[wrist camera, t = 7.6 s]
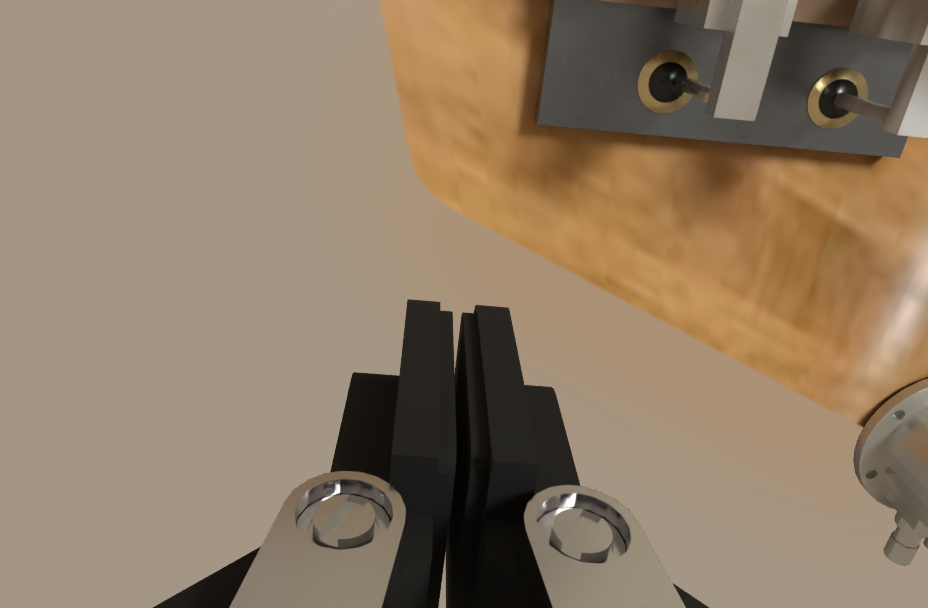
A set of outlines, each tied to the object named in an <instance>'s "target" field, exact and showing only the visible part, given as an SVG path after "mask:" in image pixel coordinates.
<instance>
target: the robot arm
mask: <svg viewBox="0 0 928 608" xmlns="http://www.w3.org/2000/svg"><path fill="white" fill-rule="evenodd" d="M453 347H454V345H453V314H452V312H450V311H440V302H433V301H432V302H431V301H421V300H408V301H407V310H406V320H405V329H404V339H403V348H402V358H401V367H400V376H396V375H383V374H368V373H356V372H354V373H353V374H352V378H351V382H350V387H349V391H348V396H347V400H346V405H345V409H344V413H343V418H342V422H341V427H340V432H339V436H338V440H337V445H336V449H335V454H334V458H333V463H332V467H331V472H330V473H324V474H322V475H319V476H316V477H314V478H311V479H308V480H307V481H305V482H304V483H303V484H301V485H300V486H298V487H297V488H295V489H294V490H293V491H292V492H291V494H290V495H289V496H288V498H287V499H286V500H285V502H284V503H283V505H282V507H281V509H280V511H279V513H278V515H277V517H276V519H275V521H274V523H273V524H272V526H271V528H270V531H269V532H268V534H267V536H266V538H265V540H264V542H263V544H262V546H261V547H259V548H258V549H256V550H254V551H252V552H251V553H249V554H247V555H245V556H243V557H242V558H240V559H238V560H236V561H235V562H233V563H231V564H229V565H227V566H226V567H224V568H222V569H220V570H219V571H217V572H215V573H213V574H212V575H210V576H208V577H206V578H204V579H203V580H201V581H199V582H197V583H196V584H194V585H192V586H190V587H189V588H187V589H185V590H183V591H181V592H180V593H178V594H176V595H174V596H173V597H171V598H169V599H167V600H165V601H164V602H162V603H160V604H158V605H157V606H155V607H153V608H438V606H439V598H440V590H441V582H442V574H443V566H444V558H445V551H446V608H709V607H707V606H706V605H704V604H703V603H701V602H700V601H698V600H697V599H695V598H694V597H692V596H691V595H689V594H688V593H686V592H685V591H683V590H682V589H680V588H679V587H678V586H676V585H675V584H673V583H672V582H671V580H670V578H669V576H668V574H667V572H666V571H665V569H664V567H663V565H662V563H661V562H660V560H659V558H658V556H657V554H656V552H655V551H654V549H653V547H652V545H651V543H650V542H649V540H648V538H647V536H646V534H645V532H644V531H643V529H642V527H641V525H640V523H639V522H638V521H637V519H636V518H635V517H634V515H633V514H632V513H631V511H630V510H629V509H627V508H626V507H625V506H624V505H623V504H621V503H620V502H619V501H618V500H616V499H615V498H613V497H611V496H609V495H607V494H605V493H603V492H601V491H598V490H595V489H591V488H587V487H583V486H580V483H579V479H578V475H577V472H576V468H575V464H574V461H573V457H572V453H571V449H570V446H569V442H568V438H567V434H566V431H565V427H564V423H563V419H562V416H561V412H560V408H559V405H558V401H557V397H556V394H555V391H554V389H553V388H552V387H544V386H530V385H524V381H523V376H522V371H521V366H520V361H519V356H518V351H517V346H516V341H515V336H514V331H513V326H512V321H511V316H510V311H509V308H504V307H494V306H482V305H476V306H475V310H474V313H462V317H461V324H460V334H459V341H458V350H457V358H456V367H455V375H454V348H453ZM854 468H855V473H856V475H857V477H858V479H859V481H860V483H861V484H862V486H863V487H864V488H865V489H866V491H867V492H868V493H869V494H870V495H871V496H872V497H873V498H874V499H876V500H877V501H878V502H880V503H881V504H883V505H886V506H887V507H890V508H893V509H896V510H897V514H896V516H895V522H896V524H897V525H898V526H897V528H896V530H895V531H894V532H893V533H892V534H891V536H890V538H889V540H888V542H887V544H886V546H885V548H884V554H885V555H886V557H887V558H888V559H890V560H891V561H892V562H894V563H896V564H899V565H904V566H907V565H909V564H910V563H911V561H912V559H913V557H914V556H915V554H916V552H917V550H918V548H919V543H920V541H921V539H922V538H925V540H924V542H923V543H924V545H925V547H927V548H928V379H925V380H922V381H919V382H917V383H915V384H913V385H911V386H909V387H907V388H905V389H903V390H902V391H900V392H899V393H897V394H896V395H895V396H893V397H892V398H890V399H889V400H888V401H886V402H885V403H884V404H883V405H882V406H881V407H880V408H879V409H878V410H877V411H876V412H875V413H874V414H873V416H872V417H871V418H870V419H869V421H868V422H867V423H866V424H865V426H864V428H863V430H862V432H861V434H860V435H859V438H858V440H857V444H856V447H855V451H854Z"/></svg>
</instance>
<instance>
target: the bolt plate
mask: <svg viewBox="0 0 928 608" xmlns="http://www.w3.org/2000/svg"><path fill="white" fill-rule="evenodd" d="M676 10H677V9H672V8H663V7H653V6H644V5H634V4H625V3H615V2H606V1H596V0H551V6H550V14H549V21H548V28H547V35H546V42H545V49H544V57H543V64H542V71H541V78H540V85H539V92H538V100H537V107H536V114H535V122H536V124H537V125H546V126H557V127H568V128H579V129H590V130H600V131H611V132H622V133H633V134H644V135H655V136H666V137H677V138H688V139H699V140H710V141H721V142H731V143H742V144H753V145H764V146H775V147H786V148H797V149H808V150H819V151H830V152H841V153H852V154H862V155H873V156H884V157H895V158H900V156H901V153H902V151H903V148H904V146H905V143H906V140H907V138H908V136H902V135H896V134H893V133H890V132H888V131H885V130H883V127H884V124H885V123H882V122H879V121H876V120H873V119H871V118H868V117H865V116H862V115H859V114H856V113H853V112H850V111H848V110H845V109H842V108H839V107H836V106H835V105H834V98H835V96H836V95H837V94H839V93H846V94H849V95H853V96H856V97H859V98H862V99H866V100H869V101H872V102H875V103H879V104H882V105H885V106H888V107H891V105H892V102H893V100H894V97H895V94H896V91H897V89H898V86H899V83H900V80H901V78H902V75H903V72H904V69H905V67H906V64H907V61H908V59H909V56H910V53H911V50H912V48H913V45H914V44H913V43H906V42H900V41H894V40H887V39H881V38H875V37H868V36H862V35H856V34H849V33H848V32H849V29H850V27H843V26H834V25H824V24H815V23H805V22H796V21H792V23H791V27H790V30H789V34H788V37H782V36H779V37H778V40H777V44H776V47H775V51H774V54H773V58H772V62H771V65H770V69H769V72H768V76H767V79H766V83H765V86H764V90H763V94H762V97H761V101H760V104H759V108H758V111H757V115H756V118H755V121H747V120H736V119H725V118H715V117H712V116H710V115H708V114H706V113H704V112H705V108H706V104H707V103H705V102H703V101H701V100H699V99H697V98H695V97H693V96H691V95H689V94H687V93H685V92H683V91H682V90H681V83H682V81H683V80H684V79H686V78H692V79H694V80H696V81H699V82H701V83H703V84H706V85H708V86H710V87H711V84H712V80H713V76H714V72H715V68H716V64H717V60H718V56H719V52H720V48H721V44H722V40H723V36H724V32H725V31H724V30H715V29H705V28H700V27H695V26H691V25H687V24H682V23H678V22H674V19H675V14H676Z"/></svg>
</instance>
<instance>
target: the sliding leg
mask: <svg viewBox="0 0 928 608" xmlns="http://www.w3.org/2000/svg"><path fill="white" fill-rule="evenodd" d="M797 2H798V0H678V5H677V10H676V14H675V19H674V22H678V23H682V24H687V25H691V26H695V27H700V28H705V29H715V30H724V31H725V32H724V36H723V40H722V44H721V48H720V52H719V56H718V60H717V64H716V68H715V72H714V76H713V80H712V84H711V87H710V86H708V85H706V84H703V83H701V82H699V81H696V80H694V79H692V78H686V79H684V80H683V81H682V83H681V90H682V91H683V92H685V93H687V94H689V95H691V96H693V97H695V98H697V99H699V100H701V101H703V102H705V103H707V104H706V108H705V112H704V113H706V114H708V115H710V116H712V117H715V118H725V119H736V120H747V121H755V118H756V115H757V111H758V108H759V104H760V101H761V97H762V94H763V90H764V86H765V83H766V79H767V76H768V72H769V69H770V65H771V62H772V58H773V54H774V51H775V47H776V44H777V40H778V37H779V36H782V37H788V34H789V30H790V27H791V23H792V20H793V16H794V13H795V9H796V6H797Z"/></svg>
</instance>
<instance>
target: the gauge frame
mask: <svg viewBox="0 0 928 608" xmlns="http://www.w3.org/2000/svg"><path fill="white" fill-rule="evenodd" d="M596 1H606V2H615V3H625V4H634V5H644V6H653V7H663V8H672V9H677V5H678V0H596ZM792 21H796V22H805V23H815V24H824V25H834V26H843V27H850V29H849V32H848V33H849V34H856V35H862V36H868V37H875V38H881V39H887V40H894V41H900V42H906V43H913V44H914V45H913V48H912V50H911V53H910V56H909V59H908V61H907V64H906V67H905V69H904V72H903V75H902V78H901V80H900V83H899V86H898V89H897V91H896V94H895V97H894V100H893V102H892V105H891V107H888V106H885V105H882V104H879V103H875V102H872V101H869V100H866V99H862V98H859V97H856V96H853V95H849V94H846V93H839V94H837V95H836V96H835V98H834V105H835V106H836V107H839V108H842V109H845V110H848V111H850V112H853V113H856V114H859V115H862V116H865V117H868V118H871V119H873V120H876V121H879V122H882V123H885V124H884V127H883V130H885V131H888V132H890V133H893V134H896V135H902V136H913V137H924V138H928V0H798V2H797V6H796V9H795V13H794V16H793V20H792Z"/></svg>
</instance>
